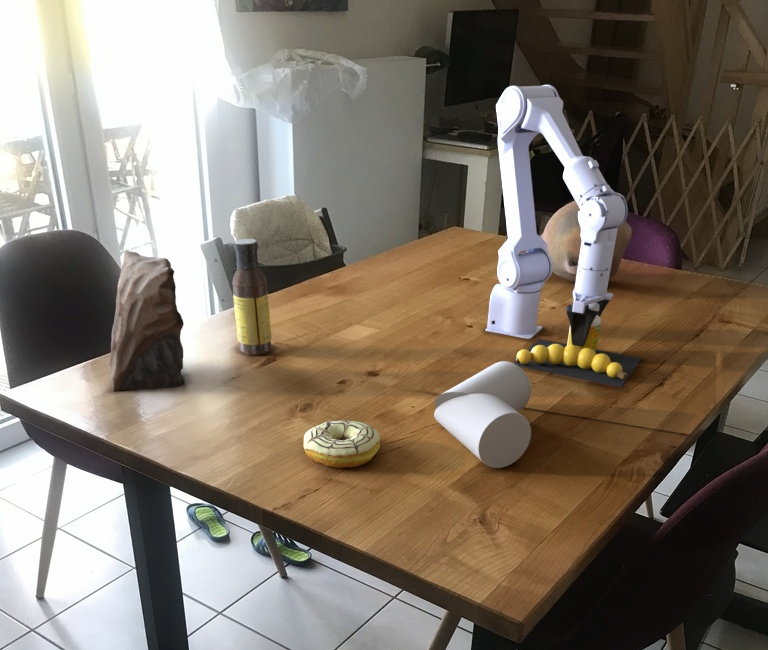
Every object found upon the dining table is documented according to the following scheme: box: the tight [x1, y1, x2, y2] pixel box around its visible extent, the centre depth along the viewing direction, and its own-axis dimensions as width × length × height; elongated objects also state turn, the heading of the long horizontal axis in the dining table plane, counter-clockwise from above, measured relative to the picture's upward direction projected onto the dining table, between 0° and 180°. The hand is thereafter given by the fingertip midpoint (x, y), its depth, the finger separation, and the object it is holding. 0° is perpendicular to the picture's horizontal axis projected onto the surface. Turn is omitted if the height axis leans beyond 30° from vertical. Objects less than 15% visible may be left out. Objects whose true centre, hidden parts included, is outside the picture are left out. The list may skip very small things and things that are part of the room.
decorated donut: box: [303, 419, 381, 469], centre depth 115 cm, size 10×11×4 cm
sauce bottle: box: [232, 238, 272, 356], centre depth 145 cm, size 6×6×20 cm
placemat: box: [513, 338, 642, 388], centre depth 149 cm, size 20×16×1 cm
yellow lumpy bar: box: [514, 344, 627, 379], centre depth 144 cm, size 20×6×4 cm, turn 70°
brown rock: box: [109, 250, 186, 392], centre depth 133 cm, size 13×13×20 cm
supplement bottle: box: [566, 303, 602, 353], centre depth 149 cm, size 5×5×10 cm
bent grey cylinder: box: [433, 360, 532, 469], centre depth 120 cm, size 18×10×20 cm
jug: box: [504, 200, 633, 283], centre depth 192 cm, size 20×20×30 cm
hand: (582, 340), depth 150 cm, fingers closed on supplement bottle, 5 cm apart
